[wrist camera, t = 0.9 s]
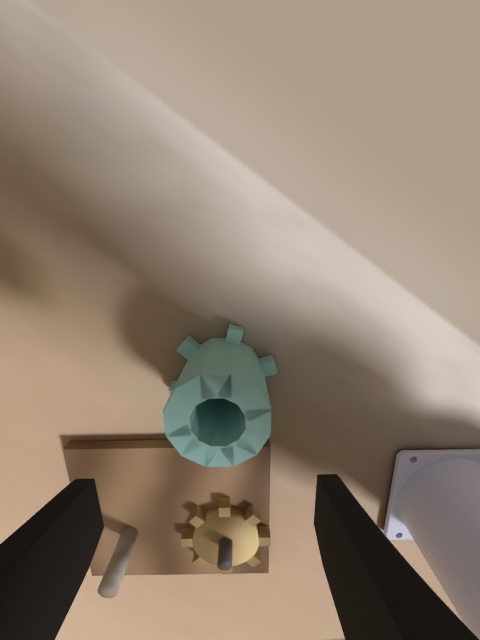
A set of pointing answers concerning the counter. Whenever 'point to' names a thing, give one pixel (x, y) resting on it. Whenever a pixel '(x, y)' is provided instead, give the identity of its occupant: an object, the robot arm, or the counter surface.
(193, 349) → the gear
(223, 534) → the gear board
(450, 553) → the robot arm
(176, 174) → the counter surface
